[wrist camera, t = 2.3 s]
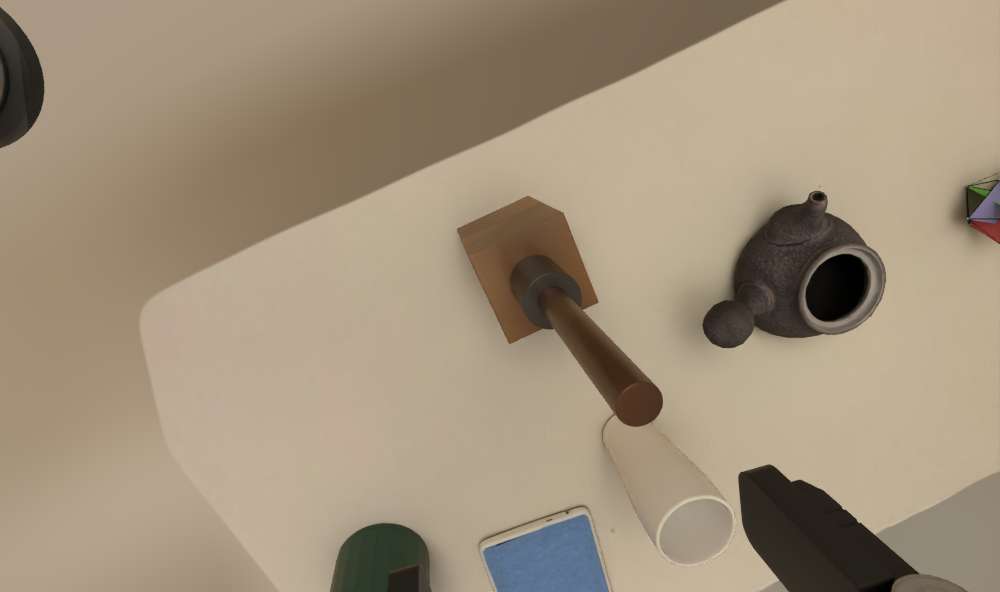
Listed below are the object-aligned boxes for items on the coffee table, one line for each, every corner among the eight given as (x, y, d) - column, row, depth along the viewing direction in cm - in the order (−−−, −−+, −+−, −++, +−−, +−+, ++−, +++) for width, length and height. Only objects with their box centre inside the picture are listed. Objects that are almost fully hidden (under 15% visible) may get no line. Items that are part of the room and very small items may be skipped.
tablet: (475, 539, 56) (477, 548, 54) (586, 501, 56) (590, 509, 55) (522, 665, 61) (524, 676, 60) (622, 629, 62) (626, 639, 61)
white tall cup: (667, 413, 55) (753, 509, 40) (636, 466, 56) (710, 577, 42) (613, 392, 53) (683, 484, 39) (582, 447, 54) (639, 556, 40)
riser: (488, 296, 48) (509, 344, 37) (456, 228, 46) (468, 256, 35) (557, 265, 48) (598, 302, 37) (528, 195, 46) (563, 212, 35)
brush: (506, 303, 36) (584, 448, 19) (513, 252, 35) (599, 356, 18) (557, 307, 37) (676, 450, 19) (564, 256, 36) (696, 361, 18)
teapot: (821, 156, 49) (917, 159, 40) (852, 297, 54) (944, 330, 44) (641, 241, 49) (694, 264, 39) (688, 375, 54) (745, 424, 44)
